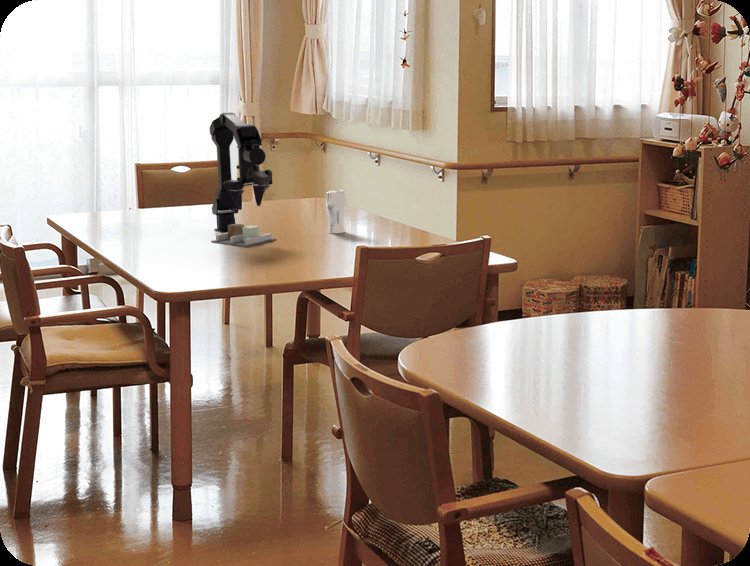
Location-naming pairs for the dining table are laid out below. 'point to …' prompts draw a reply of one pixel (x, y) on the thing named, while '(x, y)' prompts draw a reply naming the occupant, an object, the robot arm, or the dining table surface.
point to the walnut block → (234, 230)
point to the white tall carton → (335, 210)
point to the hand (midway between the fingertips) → (249, 207)
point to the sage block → (250, 231)
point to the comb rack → (239, 240)
